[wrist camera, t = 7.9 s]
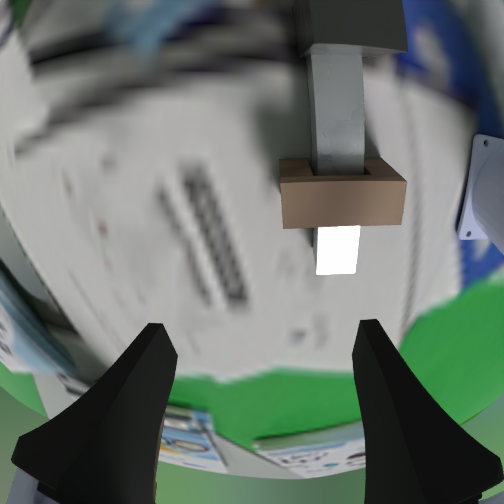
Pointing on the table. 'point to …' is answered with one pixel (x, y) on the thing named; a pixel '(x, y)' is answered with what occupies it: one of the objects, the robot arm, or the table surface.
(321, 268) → the rod
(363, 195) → the tan rectangular collar
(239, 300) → the table surface
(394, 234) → the table surface
